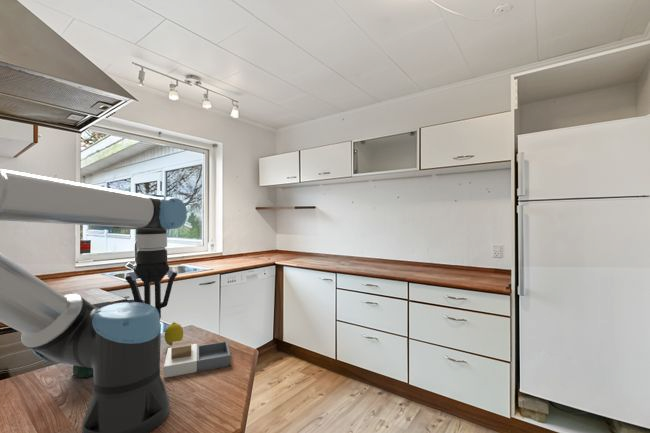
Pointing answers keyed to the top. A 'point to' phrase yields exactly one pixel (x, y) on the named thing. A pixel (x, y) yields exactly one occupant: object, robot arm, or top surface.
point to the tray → (213, 356)
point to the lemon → (173, 333)
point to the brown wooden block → (181, 349)
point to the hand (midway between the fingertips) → (153, 332)
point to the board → (181, 363)
